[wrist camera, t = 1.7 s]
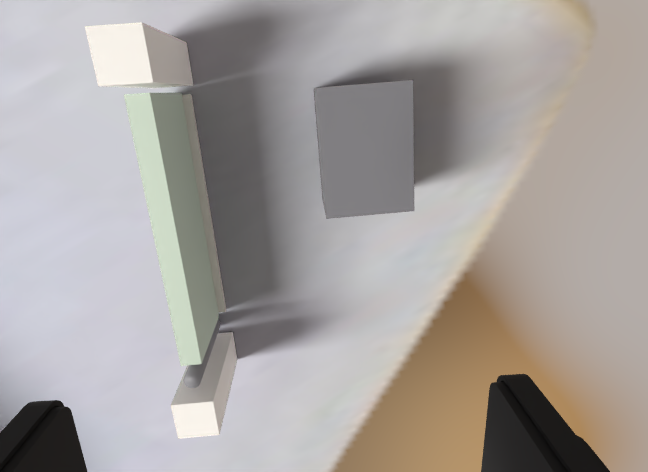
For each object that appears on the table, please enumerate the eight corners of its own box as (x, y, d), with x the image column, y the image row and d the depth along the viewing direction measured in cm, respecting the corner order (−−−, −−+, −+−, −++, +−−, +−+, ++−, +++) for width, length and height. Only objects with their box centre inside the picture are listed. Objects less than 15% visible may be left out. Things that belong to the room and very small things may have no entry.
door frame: (145, 45, 25) (84, 26, 18) (186, 42, 25) (142, 22, 18) (205, 362, 32) (178, 438, 25) (237, 359, 32) (219, 434, 25)
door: (163, 94, 26) (120, 94, 20) (183, 93, 26) (146, 92, 20) (206, 331, 31) (183, 388, 25) (222, 329, 31) (203, 386, 25)
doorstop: (313, 88, 27) (316, 87, 22) (393, 82, 27) (412, 79, 22) (322, 198, 29) (326, 218, 24) (395, 191, 29) (414, 210, 24)
